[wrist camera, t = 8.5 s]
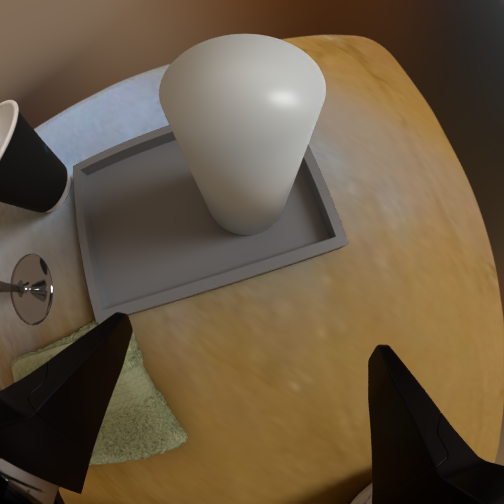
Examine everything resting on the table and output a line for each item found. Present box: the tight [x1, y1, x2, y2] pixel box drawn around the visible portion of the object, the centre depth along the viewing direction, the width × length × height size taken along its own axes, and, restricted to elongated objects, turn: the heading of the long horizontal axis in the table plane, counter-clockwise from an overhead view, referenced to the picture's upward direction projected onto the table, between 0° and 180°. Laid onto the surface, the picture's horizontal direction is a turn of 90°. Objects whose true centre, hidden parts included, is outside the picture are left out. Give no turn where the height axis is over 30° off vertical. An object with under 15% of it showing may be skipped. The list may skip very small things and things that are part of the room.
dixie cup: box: [0, 100, 71, 213], centre depth 16 cm, size 8×8×11 cm
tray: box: [73, 125, 349, 323], centre depth 21 cm, size 20×14×2 cm
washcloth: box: [11, 320, 187, 466], centre depth 17 cm, size 13×18×3 cm
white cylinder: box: [159, 34, 326, 235], centre depth 15 cm, size 6×6×13 cm
